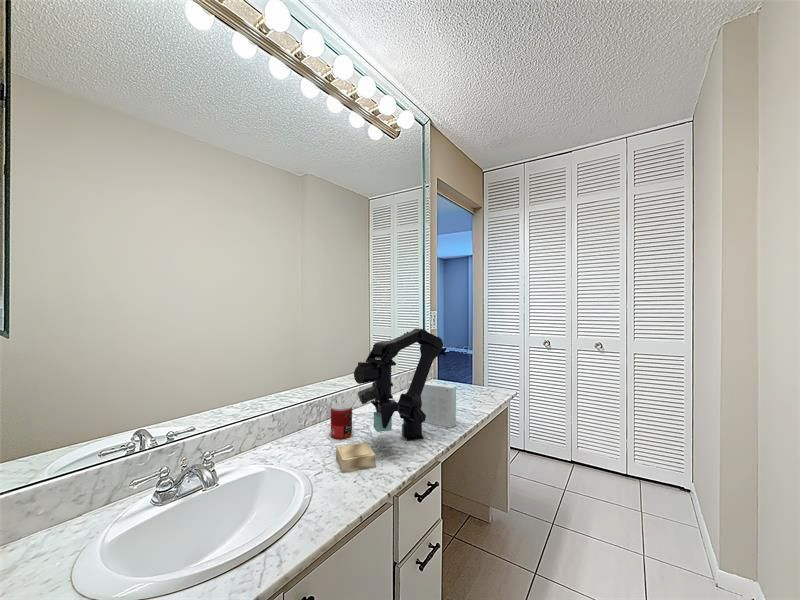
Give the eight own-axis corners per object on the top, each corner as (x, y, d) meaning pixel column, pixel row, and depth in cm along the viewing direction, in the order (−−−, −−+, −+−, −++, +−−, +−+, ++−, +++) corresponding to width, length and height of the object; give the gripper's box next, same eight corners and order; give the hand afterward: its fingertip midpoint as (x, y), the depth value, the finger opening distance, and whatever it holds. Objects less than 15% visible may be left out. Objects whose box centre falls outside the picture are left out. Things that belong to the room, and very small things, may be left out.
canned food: (347, 440, 120) (348, 409, 120) (327, 438, 122) (327, 408, 122) (354, 432, 128) (355, 403, 128) (335, 431, 129) (335, 402, 130)
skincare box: (456, 424, 137) (456, 385, 137) (451, 428, 132) (451, 388, 133) (412, 415, 148) (412, 379, 149) (405, 419, 144) (406, 381, 144)
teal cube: (387, 425, 117) (387, 411, 118) (391, 430, 113) (391, 415, 113) (373, 426, 116) (373, 412, 116) (377, 432, 111) (377, 416, 111)
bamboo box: (366, 454, 110) (366, 441, 110) (375, 468, 100) (375, 454, 100) (336, 459, 106) (336, 446, 106) (342, 474, 97) (342, 459, 97)
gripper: (354, 375, 121) (354, 419, 121) (365, 387, 103) (365, 438, 103) (384, 373, 124) (383, 416, 124) (400, 385, 107) (399, 434, 106)
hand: (382, 425), depth 114 cm, fingers closed on teal cube, 5 cm apart
